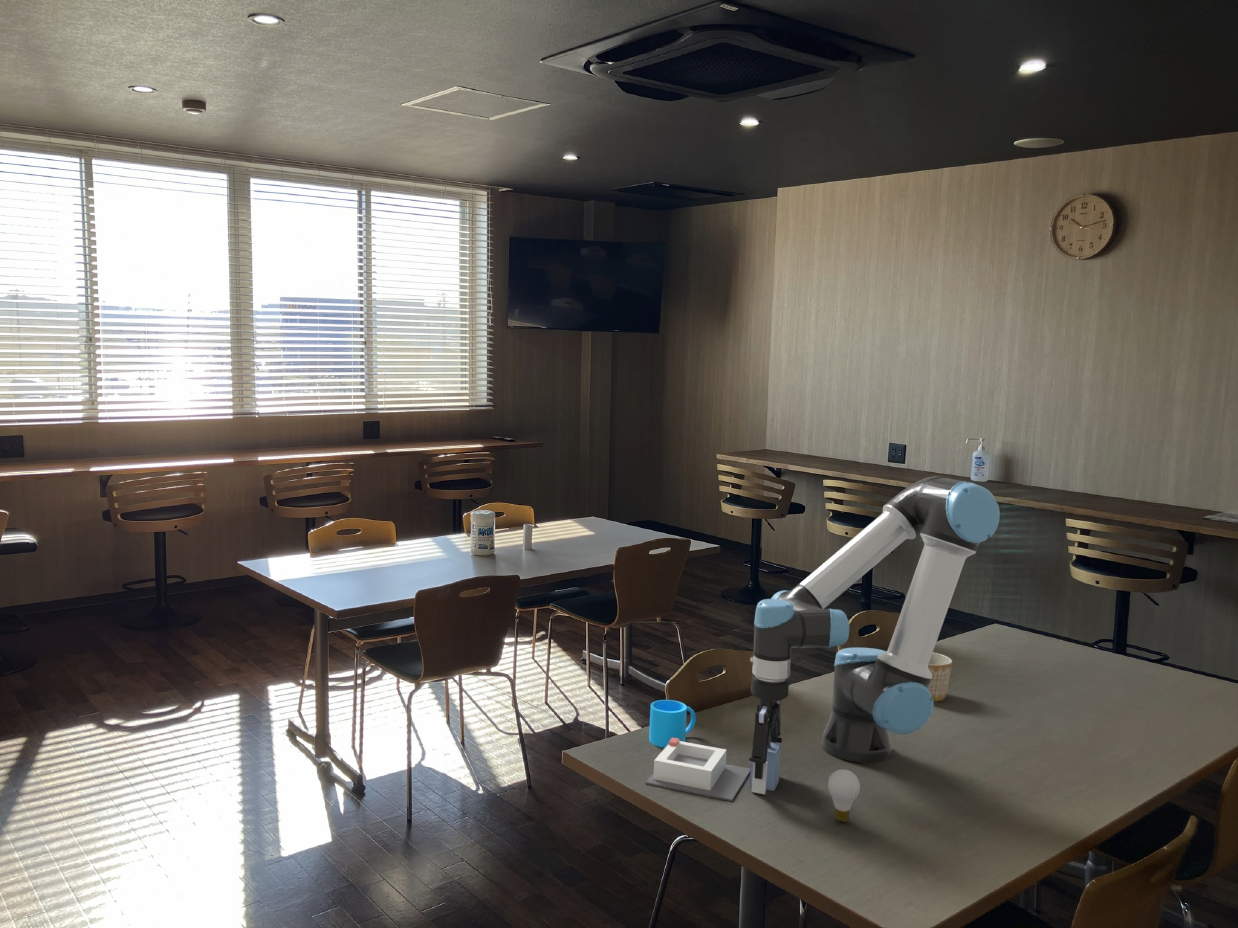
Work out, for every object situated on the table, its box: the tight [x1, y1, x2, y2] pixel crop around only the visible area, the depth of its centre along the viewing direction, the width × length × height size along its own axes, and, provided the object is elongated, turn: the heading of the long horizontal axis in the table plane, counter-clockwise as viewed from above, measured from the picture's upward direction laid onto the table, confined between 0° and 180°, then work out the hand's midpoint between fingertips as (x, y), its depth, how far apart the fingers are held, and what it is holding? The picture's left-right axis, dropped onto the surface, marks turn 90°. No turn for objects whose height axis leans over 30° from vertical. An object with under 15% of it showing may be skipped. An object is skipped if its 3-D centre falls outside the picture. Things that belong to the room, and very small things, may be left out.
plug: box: [749, 736, 782, 792], centre depth 195 cm, size 5×5×10 cm
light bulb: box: [827, 769, 861, 823], centre depth 180 cm, size 6×6×10 cm
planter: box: [928, 651, 953, 703], centre depth 253 cm, size 13×13×10 cm
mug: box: [648, 699, 697, 749], centre depth 217 cm, size 12×8×8 cm
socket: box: [644, 738, 751, 802], centre depth 197 cm, size 18×16×5 cm
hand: (764, 782), depth 196 cm, fingers open, 9 cm apart
